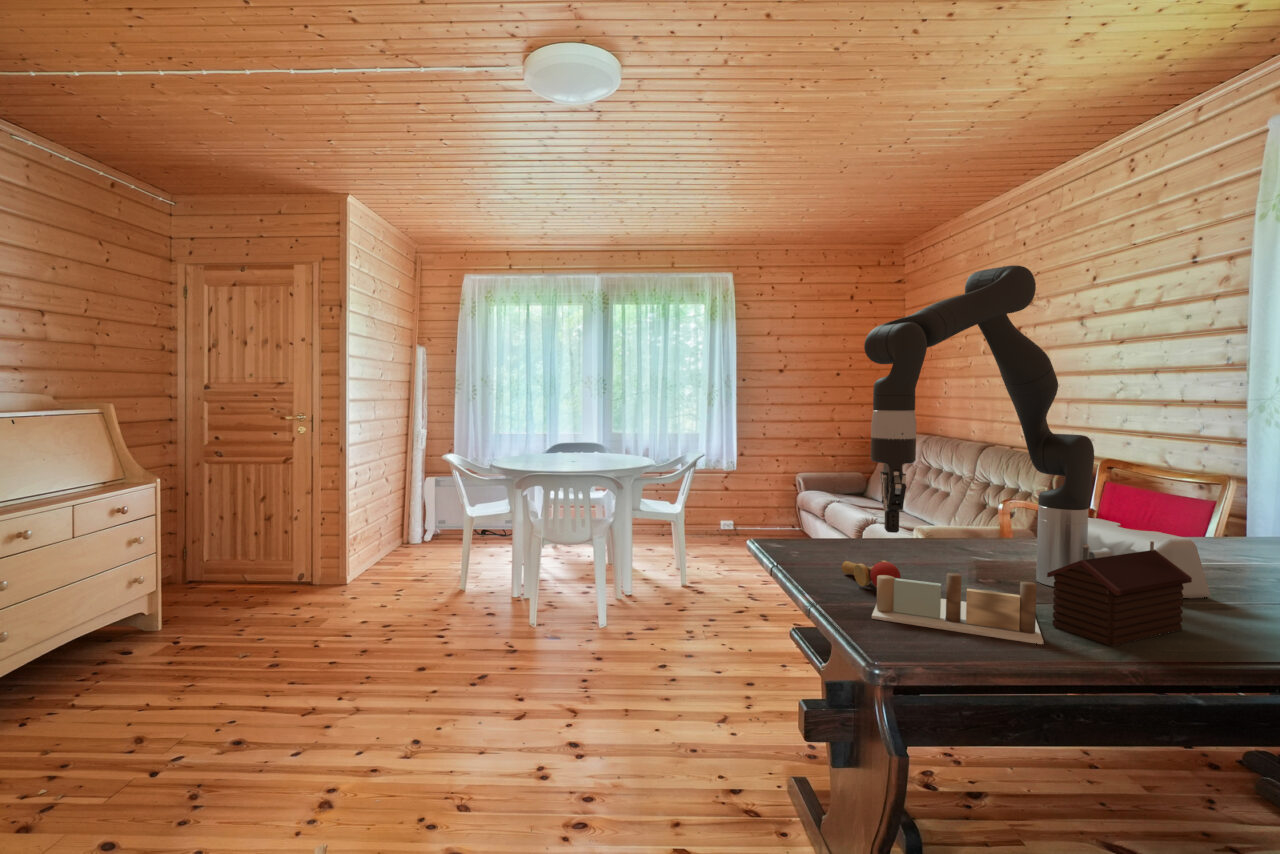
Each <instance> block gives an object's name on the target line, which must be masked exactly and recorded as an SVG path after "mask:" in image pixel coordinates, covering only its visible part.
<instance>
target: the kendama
mask: <svg viewBox="0 0 1280 854" xmlns="http://www.w3.org/2000/svg"><path fill="white" fill-rule="evenodd" d="M841 571H842V572H843V574H845V575H853V576H854V579H855V581H856V582H857V584H858V585H859V586H861V587H866V586H869V585H870V583H872V585H874V586H875V588H877V576H879V575H888V576H892V577H895V578H898V579H902V577H901V572H900V570H899V568H898V567H897V566H896V565H895V564H893V563H891V562H889V561H887V560H879V561H878V562H877V563H875V564H874V565H872V566H867V565H865V564H864V563H860V562H859V563H855V562H851V561H849V560H845V561H844V562H843V563H842V564H841Z"/></svg>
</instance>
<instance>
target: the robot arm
mask: <svg viewBox="0 0 1280 854" xmlns="http://www.w3.org/2000/svg"><path fill="white" fill-rule="evenodd" d="M1036 288H1037V287H1036V279H1035V276H1034V274H1033V272H1032V271H1031V270H1030V269H1029V268H1028V267H1026V266H1023V265H1005V266H1000V267H999V266H998V267H992V268H987V269H981V270H978V271H974V272H973V273H971V274H970V275H969V276H968V278H967V279H966V282H965V286H964V293H963V294H960V295H957V296H956V295H955V296H952V297H949V298H946V299H945V298H944V299H943V300H939V301H937V302H935V303H932V304H931V305H927V306H926V307H924V308H922V309H920V310H917V311H916V312H915V313H912V314H910V315H907V316H903V317H900V318H897V319H894V320H891V321H888V322H884V323H882V324H880V325H877V326H876V327H874V328H873V329H872V330H870V332H869V333H867V336H866V338H865V340H864V344H863V345H864V346H863V347H864V348H863V350H864V353H865V355H866V356H867V358H868V359H869V361H872V362H873V363H875V364H877V365H892V367H891V368H890V372H889V374H888V375H886V376H884V377H881V378H879V379H877V380H875V381H874V384H873V389H872V390H873V391H872V392H873V393H872V394H873V396H872V404H873V405H872V416H871V424H870V425H871V426H870V460H871V461H872V462H874V463H878V464H881V463H882V464H883V467H882V471H879V481H880V495H881V503H882V504H881V505H882V508H883V510H884V525H883V526H884V527H883V528H884V530H885V531H886V532H887V533H893V534H894V533H896V534H897V533H898V532H900V513H901V512H902V510H903V509H904V504H905V503H904V502H905V496H906V491H907V484H906V483H907V474H906V473H904V471H903V469H904V468H903V465H904V464H913V463H915V462H916V460H917V458H916V457H917V456H916V455H917V419H916V418H917V417H916V387H917V384H918V381H919V378H920V376H921V375H920V374H921V371H922V369H923V368H922V367H923V365H924V361H925V357H926V355H927V349H928V348H931V347H933V346H936V345H938V344H940V343H942V342H944V341H946V340H948V339H950V338H952V337H954V336H956V335H957V334H959V333H961V332H964V331H966V330H968V329H969V328H972V327H974V326H978V328H979V330H980V331H981V333H982V335H983V336H984V338H985V341H986V342H987V345H988V346H989V349H990V351H991V354H992V355H993V357H994V360H995V363H996V365H997V367H998V369H999V370H998V371H999V373H1000V375H1001V376H1000V377H1001V379H1002V382H1003V384H1004V386H1005V389H1006V391H1007V394H1008V395H1009V398H1010V400H1011V402H1012V404H1013V406H1014V409H1015V412H1016V414H1017V417H1018V420H1019V423H1020V426H1021V430H1022V432H1023V436H1024V440H1025V444H1026V448H1027V452H1028V455H1029V458H1030V461H1031V463H1032V465H1033V466H1034V468H1035V470H1036V471H1038V472H1039V473H1042V474H1045V475H1050V476H1051V475H1052V476H1059V477H1060V476H1062V477H1064V481H1063V484H1062V485H1060V486H1059V487H1057V488H1052V489H1047V490H1044V491H1041V492H1040V493H1039V494H1038V499H1037V500H1038V504H1037V505H1038V506H1037V535H1036V537H1037V539H1036V570H1035V574H1036V575H1035V579H1036V582H1038V583H1040V584H1043V585H1045V586H1049V587H1053V588H1055V587H1054V581H1055V579H1054V576H1052V577H1047V573H1048V572H1051V571H1054V570H1056V569H1059V568H1062V567H1064V566H1067V565H1070V564H1072V563H1075V562H1078V561H1080V560H1087V559H1089V545H1088V544H1087V542H1088V519H1089V507H1090V500H1091V499H1090V498H1091V494H1092V486H1093V484H1092V483H1093V476H1094V474H1093V473H1094V472H1093V471H1094V466H1095V449H1094V448H1095V447H1094V445H1093V441H1092V440H1091V439H1090V437H1089V436H1086V435H1082V434H1070V433H1069V434H1068V433H1067V434H1065V433H1053V432H1052V431H1051V429H1050V427H1049V424H1048V421H1047V417H1048V413H1049V410H1050V408H1051V407H1052V404H1053V402H1054V401H1055V398H1056V397H1057V393H1058V389H1059V382H1058V381H1059V380H1058V378H1057V374H1056V372H1055V369H1054V367H1053V364H1052V362H1051V358H1050V357H1049V355H1048V353H1046V352H1045V351H1044V350H1043V349H1042V348H1041V347H1040V346H1039V345H1038V344H1036V342H1034V341H1033V340H1031V339H1030V338H1029V337H1027V336H1026V335H1025V334H1023V333H1022V332H1021V331H1020V330H1019V329H1018V328H1017V327H1016V326H1015V325H1014V324H1013V323H1012V321H1011V320H1010V318H1009V316H1008V314H1013V313H1018V312H1021V311H1023V310H1024V309H1026V308H1028V307H1029V305H1030V304H1031V303H1032V301H1033V300H1034V298H1035V295H1036Z"/></svg>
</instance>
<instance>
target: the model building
mask: <svg viewBox="0 0 1280 854" xmlns="http://www.w3.org/2000/svg"><path fill="white" fill-rule="evenodd" d="M1052 576H1054V579H1055V581H1054V587H1053V588H1054V589H1053V590H1052V591H1053V598H1052V601H1053V603H1054V604H1053V605H1052V610H1053V612H1052V618H1053V620H1052V622H1051V623H1052V627H1055V628H1057V629H1060V630H1063V631H1065V632H1069V633H1070V634H1071V633H1072V634H1075V635H1077V636H1080V637H1083V638H1086V639H1089V640H1092V641H1095V642H1098V643H1101V644H1103V645H1106V646H1111V647H1113V646H1118V644H1119V645H1122V643H1123V644H1126V642H1127V643H1131V642H1130V641H1132V642H1135V641H1134V640H1136V641H1139V640H1138V639H1140V640H1144V639H1143V638H1145V639H1148V638H1147V637H1149V638H1152V637H1151V636H1154V637H1156V636H1155V635H1158V636H1160V635H1159V634H1162V635H1165V634H1164V633H1167V634H1169V633H1168V632H1171V633H1174V632H1173V631H1175V632H1178V631H1177V630H1180V631H1181V629H1183V626H1182V624H1181V623H1182V622H1183V618H1182V614H1183V613H1184V612H1183V608H1182V607H1183V605H1184V602H1183V599H1182V598H1183V593H1182V590H1183V589H1184V587H1183V584H1185V583H1190V582H1192V578H1191V577H1190V576H1189V575H1188V574H1186V573H1185V572H1184V571H1182V570H1181V569H1180V568H1178V567H1177V566H1176V565H1174V564H1173V563H1172V562H1171V561H1169V560H1168V559H1167V558H1165V557H1164V556H1163V555H1161V554H1160V553H1159V552H1157V551H1156V550H1154V542H1153V541H1150V550H1149V551H1142V552H1135V553H1128V554H1121V555H1114V556H1107V557H1101V558H1094V559H1087V560H1080V561H1078V562H1075V563H1072V564H1070V565H1067V566H1064V567H1062V568H1059V569H1056V570H1054V571H1051V572H1048V573H1047V577H1052Z"/></svg>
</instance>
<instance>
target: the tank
mask: <svg viewBox="0 0 1280 854" xmlns="http://www.w3.org/2000/svg"><path fill="white" fill-rule="evenodd" d="M1121 525H1122V524H1121V523H1119V522H1116V521H1111V520H1106V519H1102V518H1097V517H1095V518H1093V517H1092V518H1091V517H1088V542H1087V544H1088V545H1089V559H1094V558H1101V557H1107V556H1114V555H1121V554H1128V553H1135V552H1142V551H1149V550H1150V541H1153V542H1154V550H1156V551H1157V552H1159V553H1160V554H1161V555H1163V556H1164V557H1165V558H1167V559H1168V560H1169V561H1171V562H1172V563H1173V564H1174V565H1176V566H1177V567H1178V568H1180V569H1181V570H1182V571H1184V572H1185V573H1186V574H1188V575H1189V576H1190V577H1191V578H1192V582H1190V583H1185V584H1183V587H1184V589H1183V590H1182V593H1183V598H1189V599H1207V598H1206V597H1208V598H1210V596H1211V592H1210V589H1209V585H1208V582H1207V578H1206V575H1205V570H1204V568H1203V564H1202V561H1201V558H1200V554H1199V551H1198V548H1197V545H1196V543H1195V542H1194V541H1192V540H1191V539H1190V538H1187V537H1183V536H1178V535H1174V534H1169V533H1164V532H1161V531H1151V530H1139V529H1131V528H1124V527H1122V526H1121ZM1204 597H1205V598H1204Z"/></svg>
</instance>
